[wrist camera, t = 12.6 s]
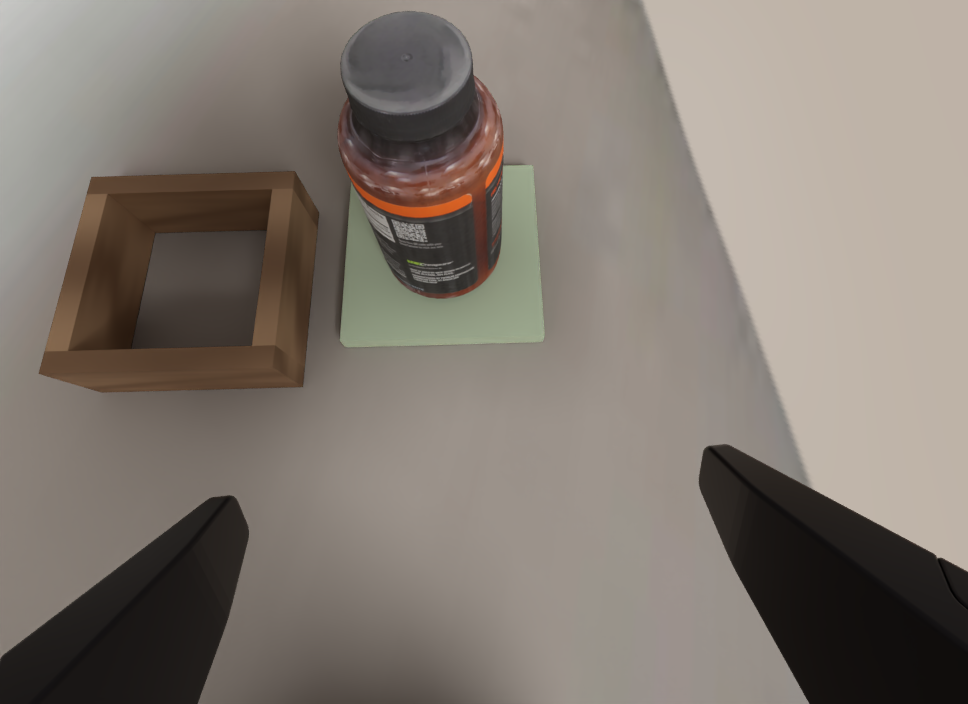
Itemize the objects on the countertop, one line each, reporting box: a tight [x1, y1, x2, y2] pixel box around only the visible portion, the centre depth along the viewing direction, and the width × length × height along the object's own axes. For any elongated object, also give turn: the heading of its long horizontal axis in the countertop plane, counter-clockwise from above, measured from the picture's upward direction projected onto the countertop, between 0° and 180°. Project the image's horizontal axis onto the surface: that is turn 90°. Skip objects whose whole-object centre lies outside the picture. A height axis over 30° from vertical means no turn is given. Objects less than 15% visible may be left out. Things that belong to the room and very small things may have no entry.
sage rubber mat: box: [340, 165, 545, 347], centre depth 26 cm, size 10×10×1 cm
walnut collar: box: [39, 171, 319, 392], centre depth 24 cm, size 10×10×4 cm
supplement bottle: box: [337, 11, 503, 299], centre depth 20 cm, size 6×6×11 cm
